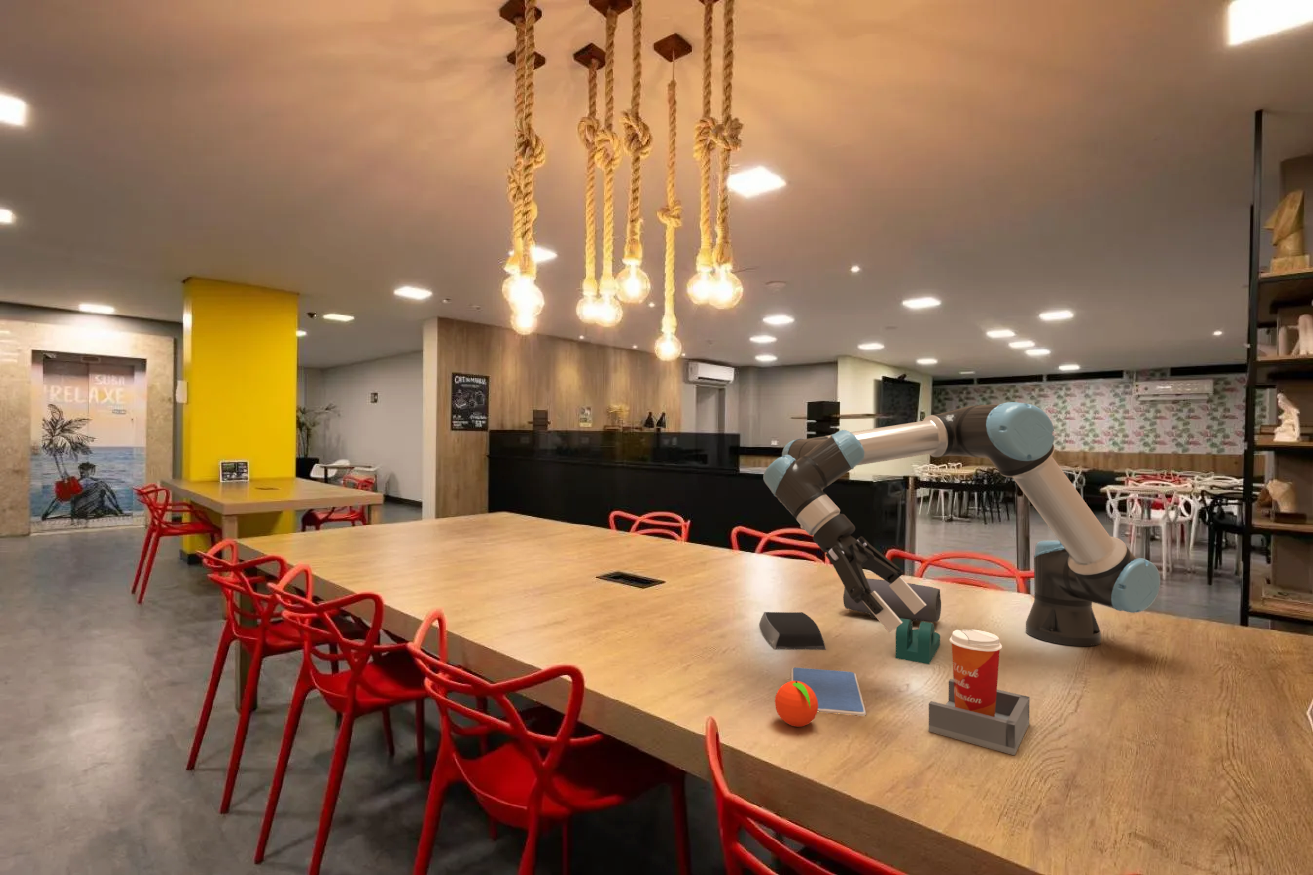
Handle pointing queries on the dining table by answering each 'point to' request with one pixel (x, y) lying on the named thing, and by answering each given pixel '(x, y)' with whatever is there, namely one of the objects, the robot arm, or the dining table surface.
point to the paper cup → (975, 670)
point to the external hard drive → (791, 631)
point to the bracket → (916, 642)
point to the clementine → (796, 703)
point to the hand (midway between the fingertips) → (909, 618)
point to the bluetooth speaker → (900, 601)
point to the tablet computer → (832, 690)
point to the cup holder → (983, 721)
